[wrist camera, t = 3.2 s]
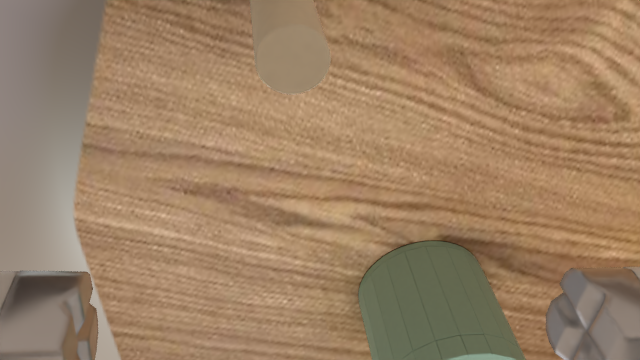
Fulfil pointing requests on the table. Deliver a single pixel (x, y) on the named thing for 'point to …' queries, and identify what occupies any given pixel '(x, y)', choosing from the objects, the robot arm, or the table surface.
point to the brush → (289, 45)
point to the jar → (433, 307)
